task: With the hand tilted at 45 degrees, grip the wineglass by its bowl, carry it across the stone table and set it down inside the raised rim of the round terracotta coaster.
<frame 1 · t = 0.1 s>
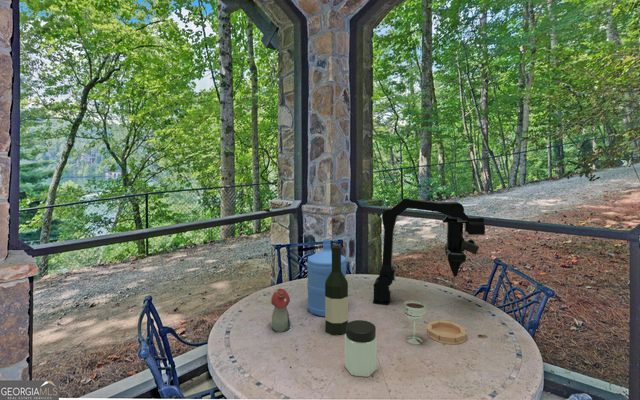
hand: (454, 273, 129), 15 cm above the table, tool pointing down, fingers open, 9 cm apart
water jug: (327, 309, 131), on the table
wine bottle: (336, 330, 113), on the table
wineglass: (414, 340, 106), on the table
decorative ornament: (281, 328, 115), on the table
coaster: (445, 334, 109), on the table
jar: (360, 368, 91), on the table
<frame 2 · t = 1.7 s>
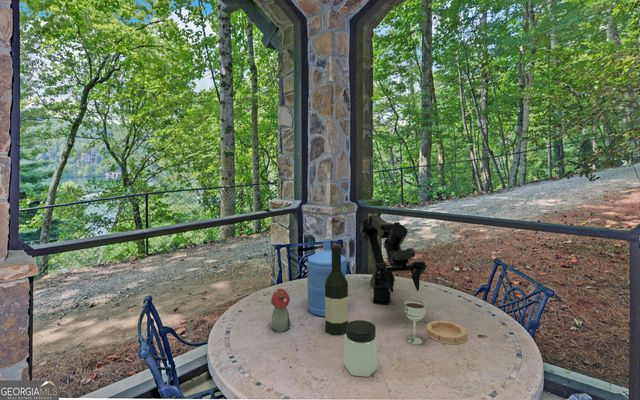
hand: (405, 291, 113), 13 cm above the table, tool tilted 45°, fingers open, 9 cm apart
nothing on the table moved.
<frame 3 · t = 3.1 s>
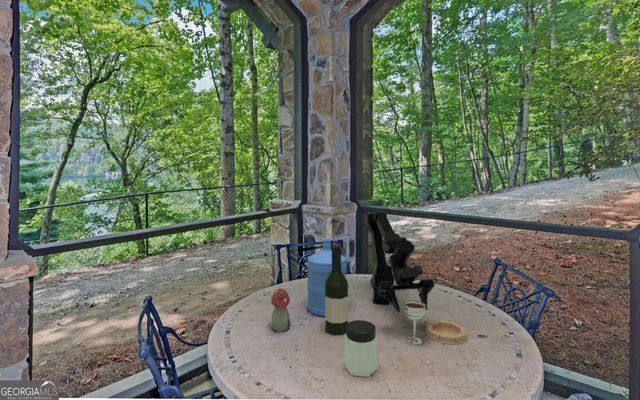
hand: (412, 311, 107), 9 cm above the table, tool tilted 45°, fingers open, 9 cm apart
nothing on the table moved.
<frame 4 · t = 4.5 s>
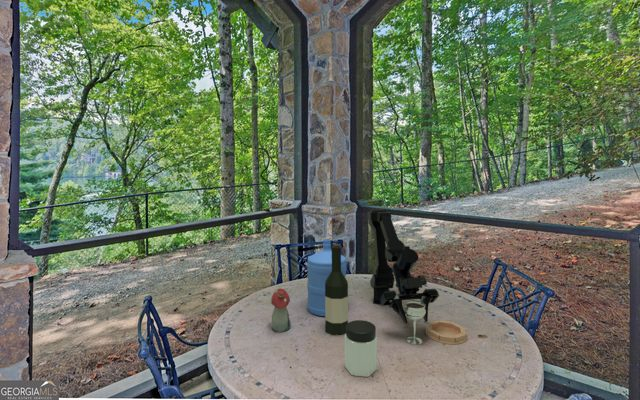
hand: (416, 322, 104), 7 cm above the table, tool tilted 45°, fingers closed on wineglass, 6 cm apart
wineglass: (414, 340, 106), on the table, touching gripper
everything else where it was.
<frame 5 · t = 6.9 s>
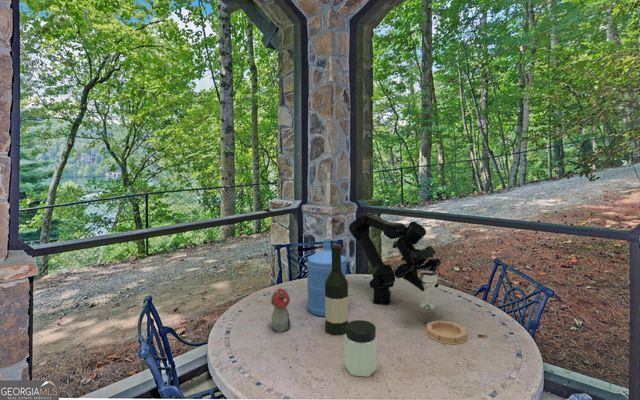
hand: (430, 288, 114), 14 cm above the table, tool tilted 45°, fingers closed on wineglass, 6 cm apart
wineglass: (427, 306, 116), point 7 cm above the table, touching gripper
everything else where it was.
when the fingers open (8 cm above the table, at t = 9.4 s): wineglass stays where it is, resting on coaster.
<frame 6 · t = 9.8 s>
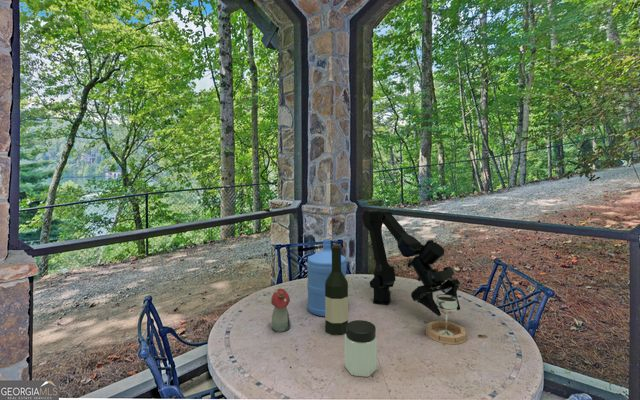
hand: (449, 312, 108), 8 cm above the table, tool tilted 45°, fingers open, 9 cm apart
wineglass: (446, 333, 110), resting on coaster
everything else where it was.
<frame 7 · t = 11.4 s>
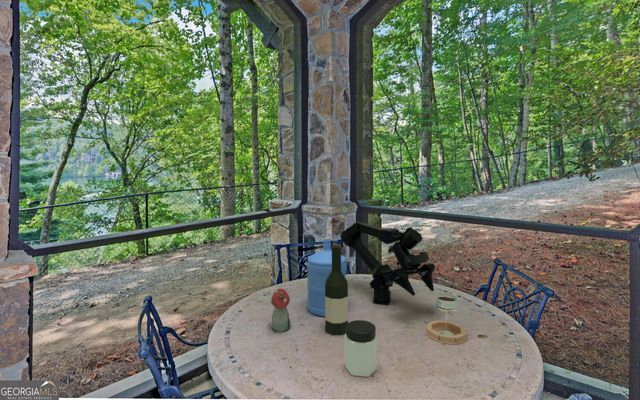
hand: (423, 293, 119), 11 cm above the table, tool tilted 45°, fingers open, 9 cm apart
nothing on the table moved.
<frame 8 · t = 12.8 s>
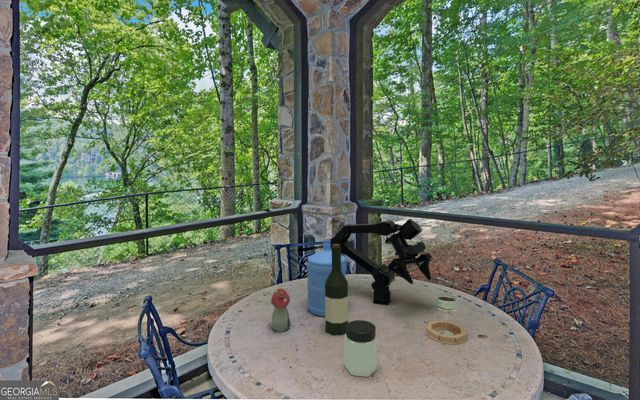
hand: (421, 281, 122), 14 cm above the table, tool tilted 45°, fingers open, 9 cm apart
nothing on the table moved.
at the end: wineglass 0.3 cm from the coaster (horizontally); wineglass tilted 0°; the gripper is holding nothing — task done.
